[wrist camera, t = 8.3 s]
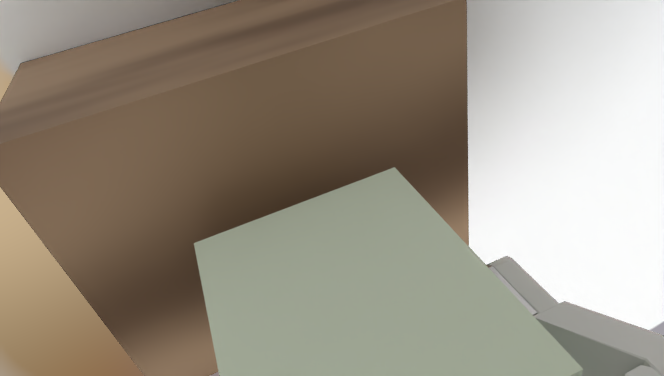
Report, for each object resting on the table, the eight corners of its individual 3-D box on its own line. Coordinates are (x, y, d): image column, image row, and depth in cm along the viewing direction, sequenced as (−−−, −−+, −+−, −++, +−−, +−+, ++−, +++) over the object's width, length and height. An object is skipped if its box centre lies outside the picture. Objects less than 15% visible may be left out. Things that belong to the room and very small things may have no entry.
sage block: (193, 243, 11) (249, 536, 6) (394, 167, 11) (583, 369, 7) (255, 368, 14) (326, 629, 9) (411, 299, 14) (550, 504, 10)
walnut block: (20, 63, 15) (-26, 152, 10) (370, -38, 17) (466, -4, 12) (151, 278, 21) (160, 396, 16) (397, 183, 23) (468, 263, 18)
